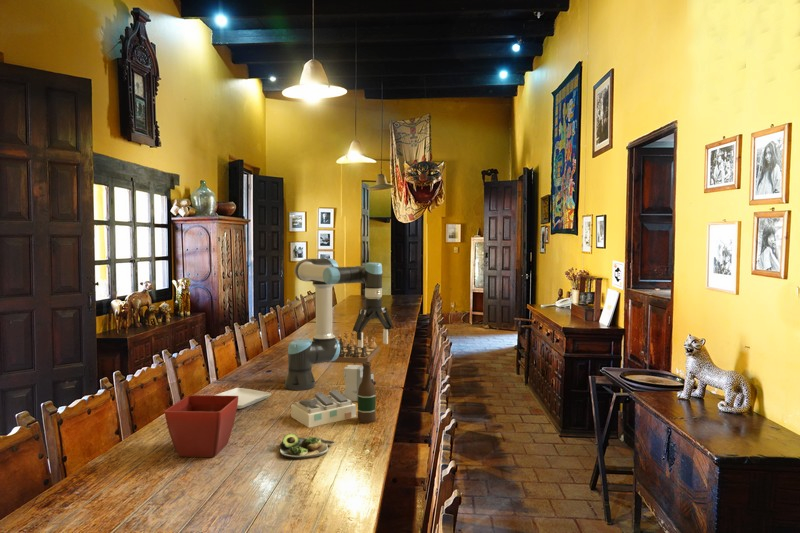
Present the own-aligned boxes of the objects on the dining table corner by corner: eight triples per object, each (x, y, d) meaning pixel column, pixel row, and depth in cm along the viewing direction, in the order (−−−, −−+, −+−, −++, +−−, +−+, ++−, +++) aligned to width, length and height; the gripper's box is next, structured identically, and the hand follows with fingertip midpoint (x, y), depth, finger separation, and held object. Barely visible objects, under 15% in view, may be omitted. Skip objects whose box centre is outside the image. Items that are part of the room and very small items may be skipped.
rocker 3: (329, 394, 226) (329, 390, 226) (335, 392, 228) (335, 389, 228) (340, 404, 218) (341, 401, 218) (347, 403, 220) (347, 399, 220)
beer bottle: (378, 418, 218) (379, 361, 217) (371, 424, 210) (372, 365, 209) (361, 416, 220) (361, 359, 219) (354, 422, 213) (354, 363, 212)
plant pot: (188, 439, 193) (188, 394, 193) (239, 440, 193) (239, 395, 192) (163, 460, 174) (163, 411, 174) (220, 462, 174) (219, 412, 173)
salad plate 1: (272, 399, 244) (272, 392, 244) (241, 412, 225) (241, 404, 225) (237, 393, 253) (237, 386, 253) (204, 406, 234) (204, 398, 234)
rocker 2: (314, 396, 222) (315, 393, 222) (321, 395, 224) (321, 392, 223) (326, 407, 214) (326, 404, 214) (332, 406, 216) (333, 402, 216)
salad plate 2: (332, 438, 196) (332, 426, 196) (337, 457, 179) (337, 444, 179) (279, 442, 192) (279, 430, 192) (279, 462, 174) (279, 449, 174)
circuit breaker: (372, 402, 239) (373, 370, 239) (343, 400, 242) (343, 368, 242) (376, 397, 247) (377, 366, 246) (347, 395, 250) (348, 364, 249)
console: (291, 416, 219) (291, 401, 219) (336, 407, 232) (336, 392, 232) (309, 427, 206) (309, 411, 206) (356, 416, 219) (356, 401, 219)
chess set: (322, 348, 361) (322, 327, 361) (379, 350, 356) (379, 329, 355) (303, 361, 322) (303, 337, 321) (367, 364, 316) (367, 340, 316)
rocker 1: (299, 404, 218) (299, 400, 218) (306, 403, 220) (306, 399, 220) (310, 405, 210) (310, 401, 210) (317, 404, 212) (317, 400, 212)
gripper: (354, 300, 220) (354, 350, 221) (400, 296, 236) (400, 343, 237) (345, 298, 226) (344, 347, 227) (390, 295, 242) (390, 340, 243)
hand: (373, 345), depth 232 cm, fingers open, 13 cm apart
